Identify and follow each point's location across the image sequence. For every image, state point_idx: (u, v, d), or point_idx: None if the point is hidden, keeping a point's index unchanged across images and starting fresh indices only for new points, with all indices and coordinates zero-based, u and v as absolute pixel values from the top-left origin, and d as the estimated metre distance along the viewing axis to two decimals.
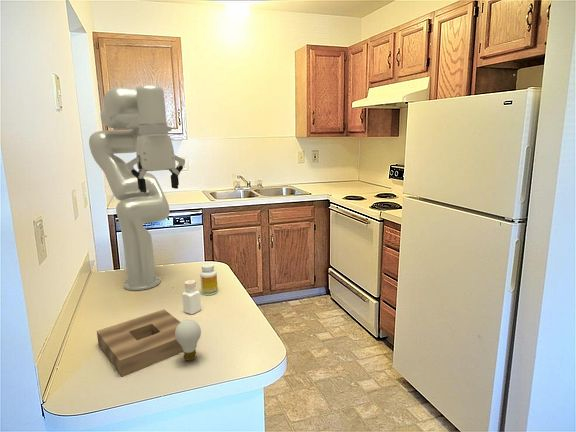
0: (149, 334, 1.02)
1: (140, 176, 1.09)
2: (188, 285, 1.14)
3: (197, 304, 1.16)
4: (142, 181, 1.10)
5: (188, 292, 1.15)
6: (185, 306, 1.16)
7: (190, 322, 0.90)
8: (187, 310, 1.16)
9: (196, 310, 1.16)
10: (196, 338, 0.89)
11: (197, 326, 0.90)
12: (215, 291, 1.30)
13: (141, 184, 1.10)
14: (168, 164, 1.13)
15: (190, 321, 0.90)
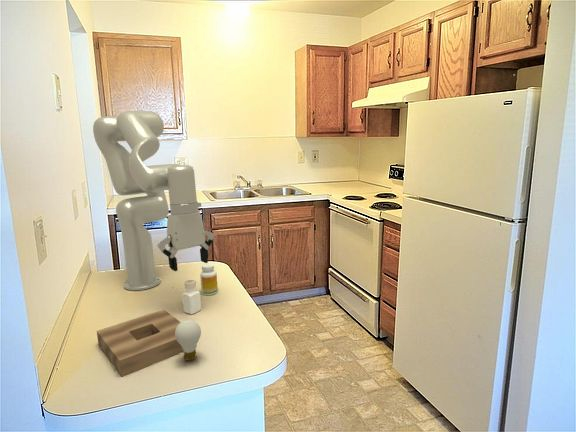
0: (149, 334, 1.02)
1: (171, 255, 1.09)
2: (188, 285, 1.14)
3: (197, 304, 1.16)
4: (174, 260, 1.09)
5: (188, 292, 1.15)
6: (185, 306, 1.16)
7: (190, 322, 0.90)
8: (187, 310, 1.16)
9: (196, 310, 1.16)
10: (196, 338, 0.89)
11: (197, 326, 0.90)
12: (215, 291, 1.30)
13: (172, 263, 1.10)
14: (198, 240, 1.13)
15: (190, 321, 0.90)
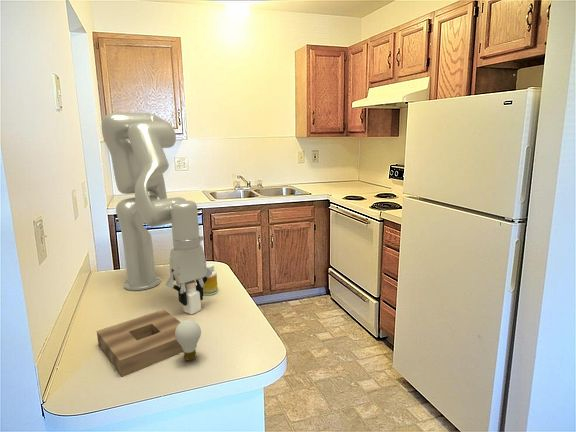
0: (149, 334, 1.02)
1: (181, 291, 1.13)
2: (188, 285, 1.14)
3: (197, 304, 1.16)
4: (183, 295, 1.13)
5: (188, 292, 1.15)
6: (185, 306, 1.16)
7: (190, 322, 0.90)
8: (187, 310, 1.16)
9: (196, 310, 1.16)
10: (196, 338, 0.89)
11: (197, 326, 0.90)
12: (215, 291, 1.30)
13: (182, 298, 1.14)
14: (200, 274, 1.15)
15: (190, 321, 0.90)
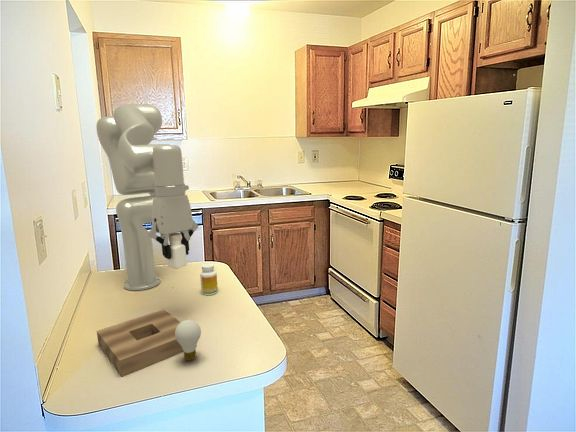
0: (149, 334, 1.02)
1: (165, 243, 1.05)
2: (172, 237, 1.06)
3: (182, 258, 1.08)
4: (167, 247, 1.05)
5: (173, 245, 1.07)
6: (169, 260, 1.08)
7: (190, 322, 0.90)
8: (172, 265, 1.07)
9: (181, 265, 1.08)
10: (196, 338, 0.89)
11: (197, 326, 0.90)
12: (215, 291, 1.30)
13: (166, 251, 1.06)
14: (185, 225, 1.07)
15: (190, 321, 0.90)
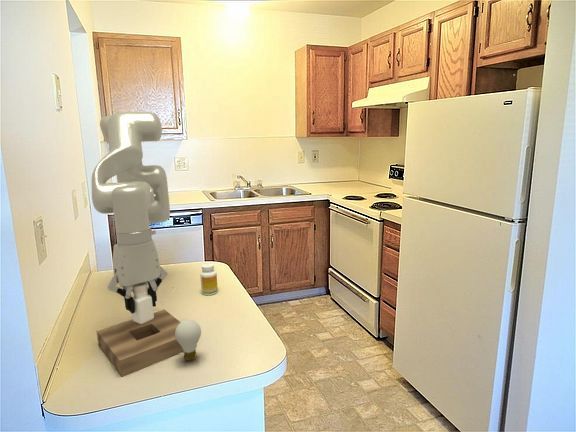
0: (149, 334, 1.02)
1: (127, 296, 0.93)
2: (136, 288, 0.94)
3: (148, 311, 0.96)
4: (130, 301, 0.93)
5: (137, 297, 0.94)
6: (133, 314, 0.95)
7: (190, 322, 0.90)
8: (136, 319, 0.95)
9: (147, 319, 0.96)
10: (196, 338, 0.89)
11: (197, 326, 0.90)
12: (215, 291, 1.30)
13: (129, 304, 0.93)
14: (151, 275, 0.95)
15: (190, 321, 0.90)
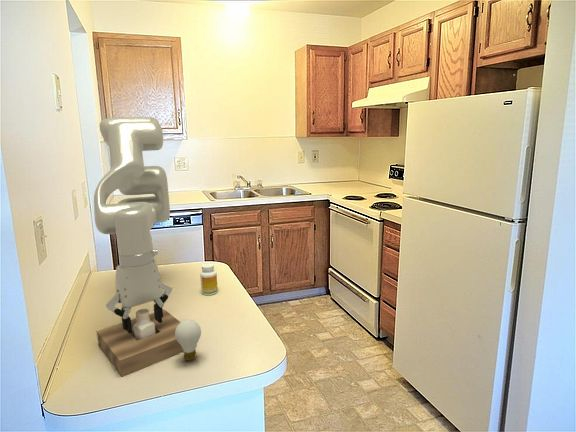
0: None
1: (125, 316, 0.93)
2: (139, 316, 0.96)
3: None
4: (127, 321, 0.93)
5: (139, 324, 0.96)
6: None
7: (190, 322, 0.90)
8: None
9: None
10: (196, 338, 0.89)
11: (197, 326, 0.90)
12: (215, 291, 1.30)
13: (126, 324, 0.94)
14: (154, 295, 0.96)
15: (190, 321, 0.90)
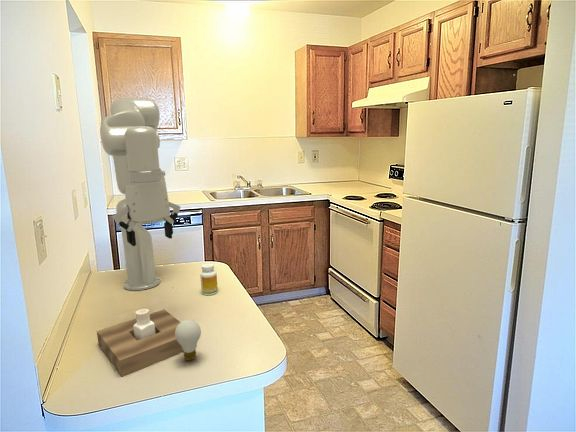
0: None
1: (129, 229, 0.98)
2: (139, 316, 0.96)
3: None
4: (132, 234, 0.98)
5: (139, 324, 0.96)
6: None
7: (190, 322, 0.90)
8: None
9: None
10: (196, 338, 0.89)
11: (197, 326, 0.90)
12: (215, 291, 1.30)
13: (130, 237, 0.99)
14: (161, 213, 1.01)
15: (190, 321, 0.90)
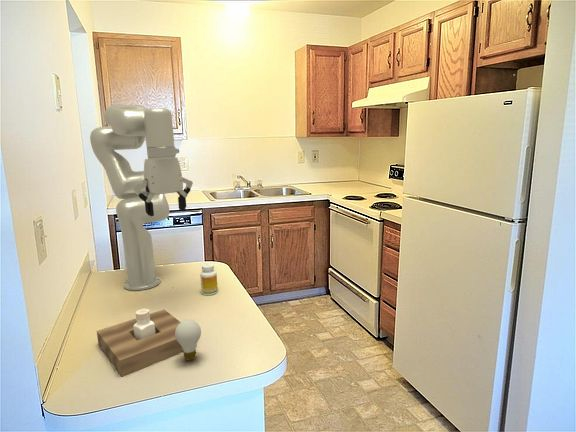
0: None
1: (148, 200, 1.08)
2: (139, 316, 0.96)
3: None
4: (150, 204, 1.08)
5: (140, 324, 0.96)
6: None
7: (190, 322, 0.90)
8: None
9: None
10: (196, 338, 0.89)
11: (197, 326, 0.90)
12: (215, 291, 1.30)
13: (148, 208, 1.09)
14: (176, 187, 1.12)
15: (190, 321, 0.90)
